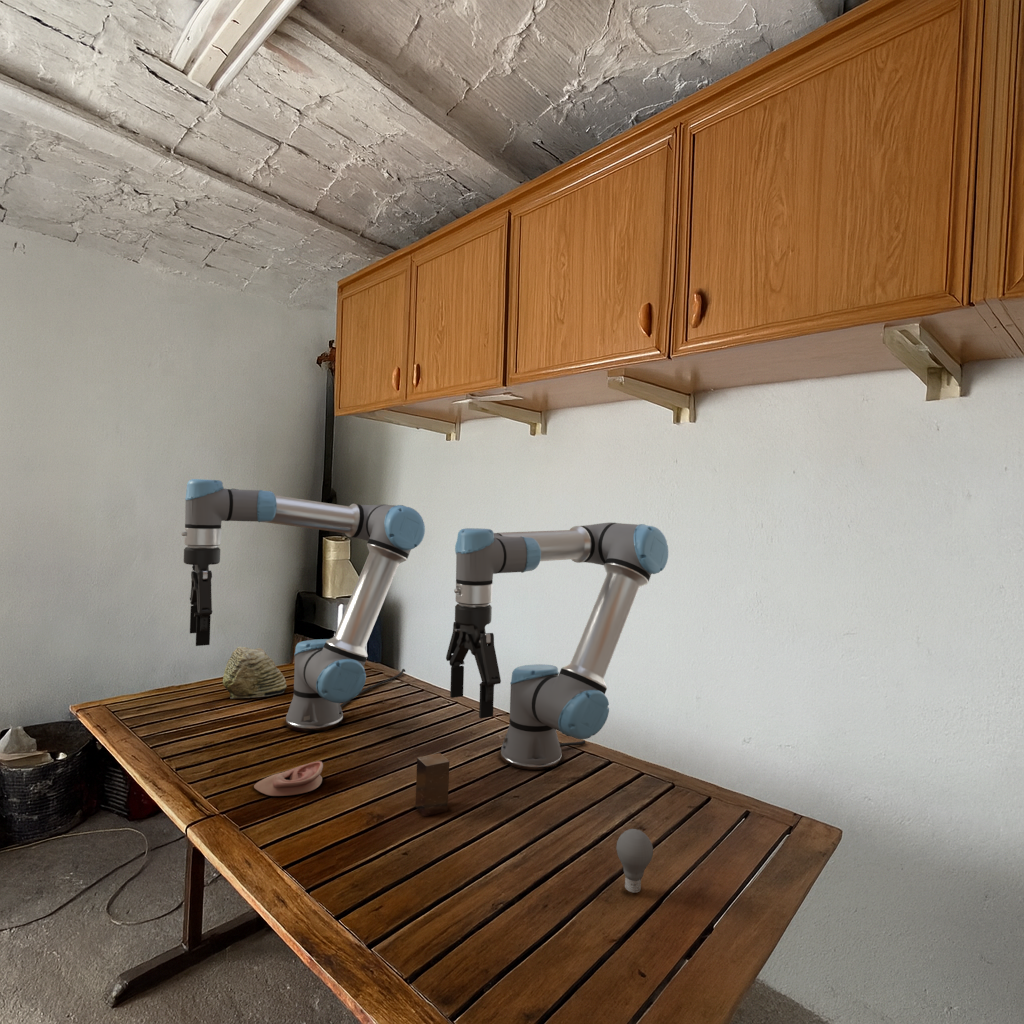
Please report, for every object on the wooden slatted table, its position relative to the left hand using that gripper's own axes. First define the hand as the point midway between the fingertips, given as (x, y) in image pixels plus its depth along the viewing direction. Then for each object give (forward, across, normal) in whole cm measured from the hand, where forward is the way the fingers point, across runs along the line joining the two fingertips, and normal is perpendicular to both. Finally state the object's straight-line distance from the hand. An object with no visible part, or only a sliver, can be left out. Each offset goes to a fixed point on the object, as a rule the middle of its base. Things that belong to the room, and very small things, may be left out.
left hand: (199, 638), depth 145 cm
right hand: (+8, +47, +46) cm, 66 cm away
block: (+29, +43, +40) cm, 66 cm away
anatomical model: (+29, +20, +17) cm, 39 cm away
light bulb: (+29, +84, +58) cm, 106 cm away
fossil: (+29, -48, +21) cm, 60 cm away
